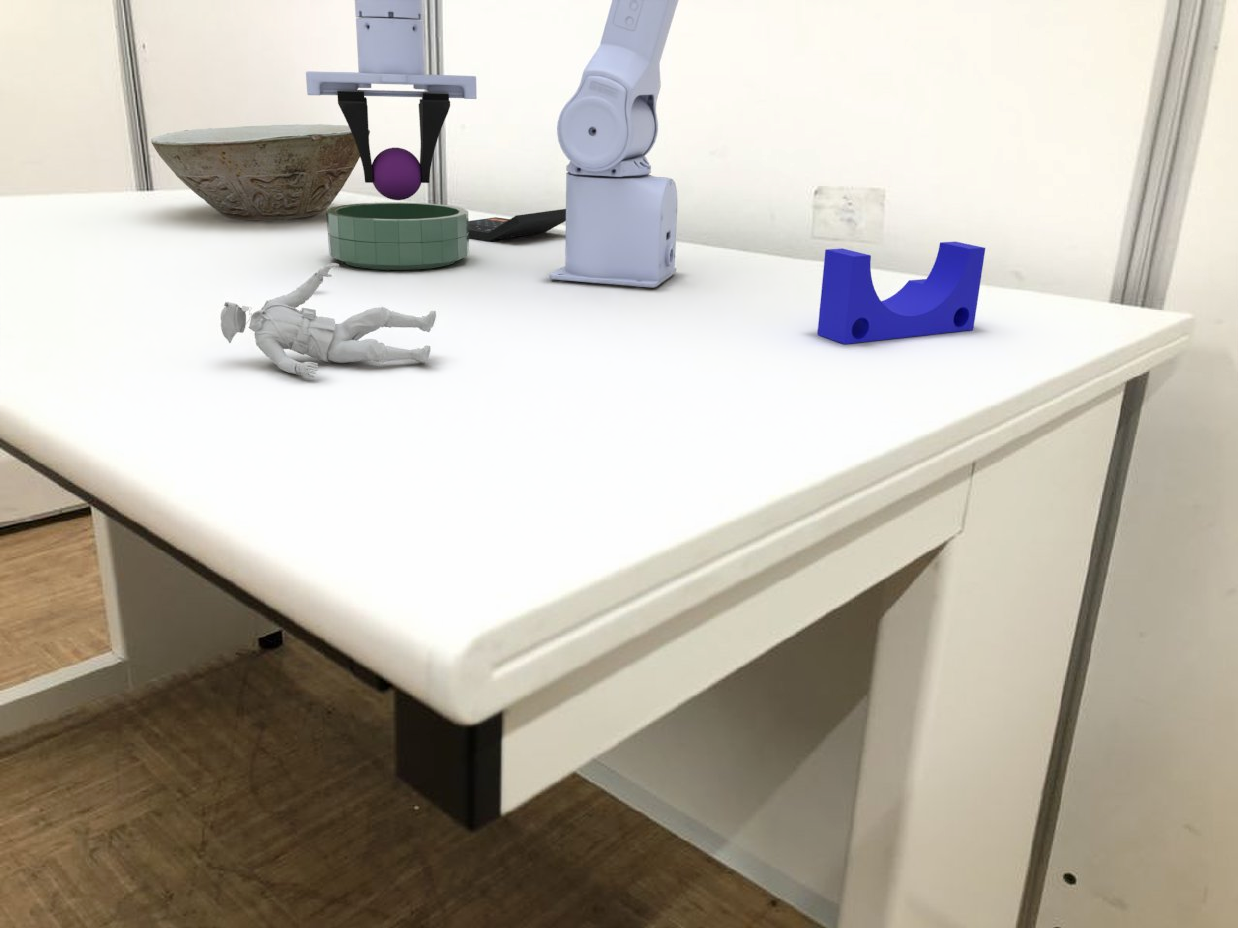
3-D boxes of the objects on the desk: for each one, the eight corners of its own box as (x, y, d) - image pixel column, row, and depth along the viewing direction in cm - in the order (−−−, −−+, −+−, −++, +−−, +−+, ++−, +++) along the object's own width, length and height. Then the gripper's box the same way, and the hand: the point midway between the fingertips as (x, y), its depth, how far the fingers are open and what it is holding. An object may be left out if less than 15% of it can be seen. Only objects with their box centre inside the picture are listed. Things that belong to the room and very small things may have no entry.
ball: (432, 199, 99) (430, 147, 97) (409, 204, 95) (407, 150, 93) (387, 196, 100) (384, 144, 98) (362, 201, 96) (359, 148, 94)
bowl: (115, 224, 115) (101, 127, 111) (226, 199, 137) (218, 118, 133) (322, 235, 111) (315, 135, 108) (402, 208, 133) (398, 124, 130)
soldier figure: (425, 396, 63) (212, 340, 58) (404, 429, 67) (203, 380, 62) (442, 287, 66) (242, 227, 62) (422, 325, 70) (232, 271, 66)
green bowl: (489, 254, 103) (488, 207, 102) (432, 277, 92) (430, 224, 90) (372, 245, 106) (369, 199, 105) (303, 265, 95) (299, 214, 93)
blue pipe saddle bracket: (930, 317, 82) (940, 238, 80) (973, 329, 79) (985, 247, 76) (804, 329, 77) (812, 246, 75) (844, 344, 73) (853, 256, 71)
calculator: (495, 225, 122) (495, 198, 121) (575, 236, 116) (576, 208, 115) (437, 233, 115) (436, 204, 114) (519, 246, 109) (519, 216, 108)
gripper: (300, 14, 87) (312, 186, 91) (479, 21, 90) (482, 187, 95) (303, 17, 93) (314, 177, 98) (470, 24, 96) (473, 178, 101)
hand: (396, 182), depth 97 cm, fingers closed on ball, 4 cm apart
